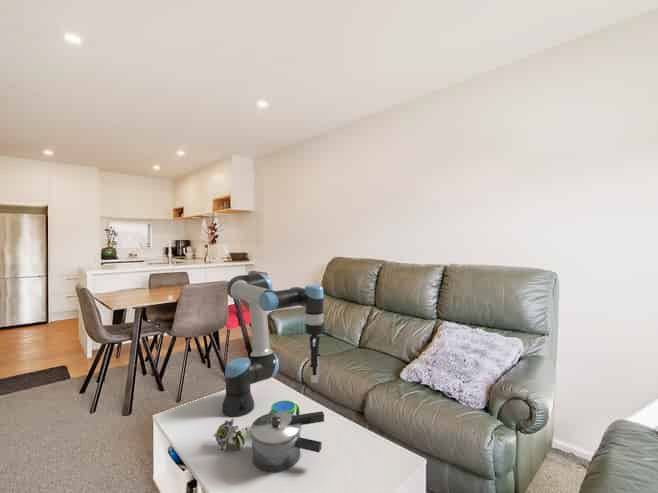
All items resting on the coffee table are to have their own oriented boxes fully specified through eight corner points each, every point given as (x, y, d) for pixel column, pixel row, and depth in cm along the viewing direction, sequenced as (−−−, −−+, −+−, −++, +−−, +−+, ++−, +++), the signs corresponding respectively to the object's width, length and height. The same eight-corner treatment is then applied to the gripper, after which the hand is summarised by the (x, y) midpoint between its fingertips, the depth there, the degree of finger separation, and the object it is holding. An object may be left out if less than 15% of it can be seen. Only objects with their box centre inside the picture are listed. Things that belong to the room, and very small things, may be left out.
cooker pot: (268, 437, 139) (267, 414, 139) (328, 451, 130) (328, 426, 129) (242, 465, 122) (242, 438, 122) (310, 484, 113) (310, 455, 112)
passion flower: (221, 462, 132) (205, 435, 134) (241, 442, 141) (226, 418, 143) (236, 456, 126) (219, 428, 128) (255, 436, 135) (239, 410, 137)
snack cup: (294, 417, 154) (293, 396, 154) (305, 428, 145) (305, 405, 145) (262, 428, 145) (261, 405, 145) (271, 441, 137) (271, 416, 136)
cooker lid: (251, 448, 116) (251, 437, 115) (250, 420, 134) (250, 410, 134) (329, 435, 123) (329, 424, 123) (318, 410, 141) (317, 400, 141)
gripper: (323, 330, 127) (323, 389, 127) (324, 316, 148) (324, 366, 149) (303, 330, 127) (304, 389, 127) (307, 316, 148) (307, 366, 149)
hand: (315, 377), depth 138 cm, fingers open, 9 cm apart
